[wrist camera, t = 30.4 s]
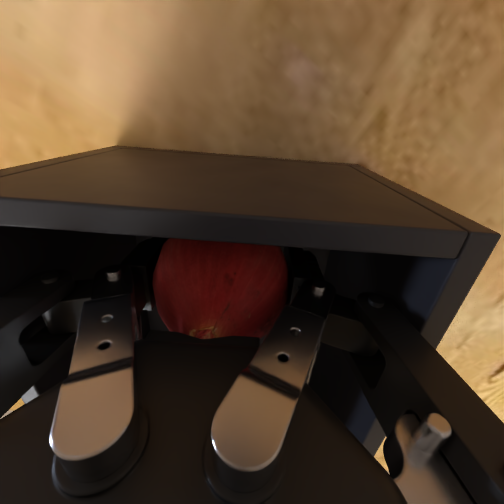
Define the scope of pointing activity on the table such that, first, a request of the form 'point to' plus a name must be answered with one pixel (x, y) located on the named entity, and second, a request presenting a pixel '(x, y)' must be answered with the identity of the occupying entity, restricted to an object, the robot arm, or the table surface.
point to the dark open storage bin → (244, 237)
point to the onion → (220, 287)
